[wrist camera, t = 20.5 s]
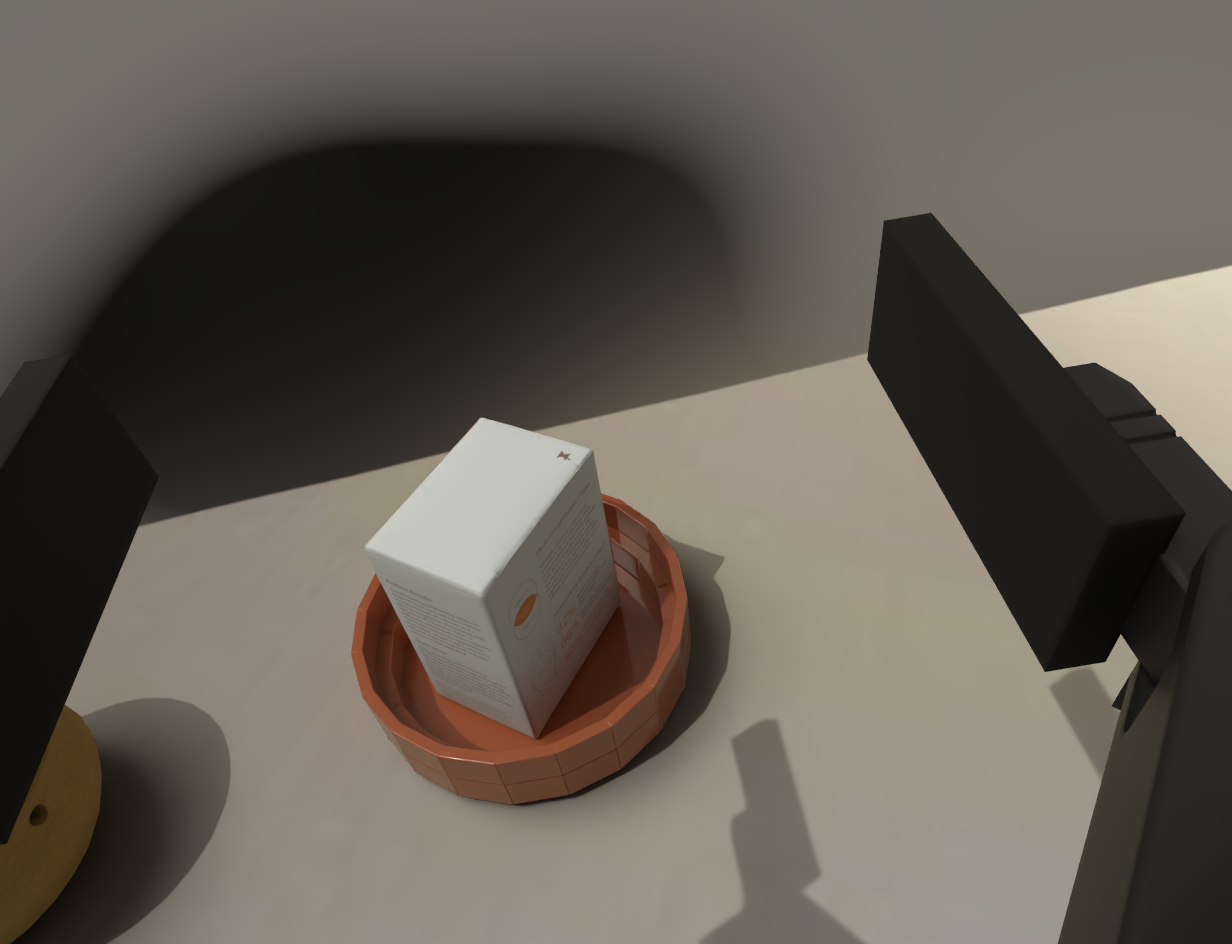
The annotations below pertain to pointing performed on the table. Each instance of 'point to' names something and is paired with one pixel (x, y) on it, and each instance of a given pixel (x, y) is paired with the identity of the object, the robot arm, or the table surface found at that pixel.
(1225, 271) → the table surface
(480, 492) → the small box
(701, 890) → the table surface
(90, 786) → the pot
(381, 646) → the bowl
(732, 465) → the table surface
